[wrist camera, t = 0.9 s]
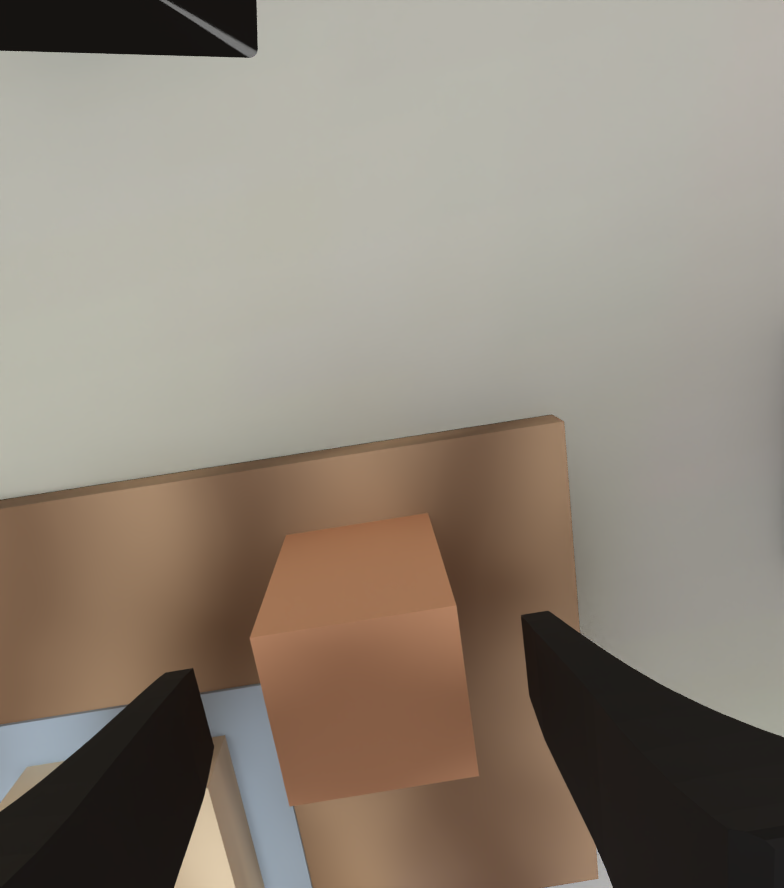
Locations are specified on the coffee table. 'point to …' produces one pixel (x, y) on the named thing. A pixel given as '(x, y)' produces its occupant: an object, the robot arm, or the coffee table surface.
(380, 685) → the terracotta block
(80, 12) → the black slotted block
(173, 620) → the building board
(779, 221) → the coffee table surface
